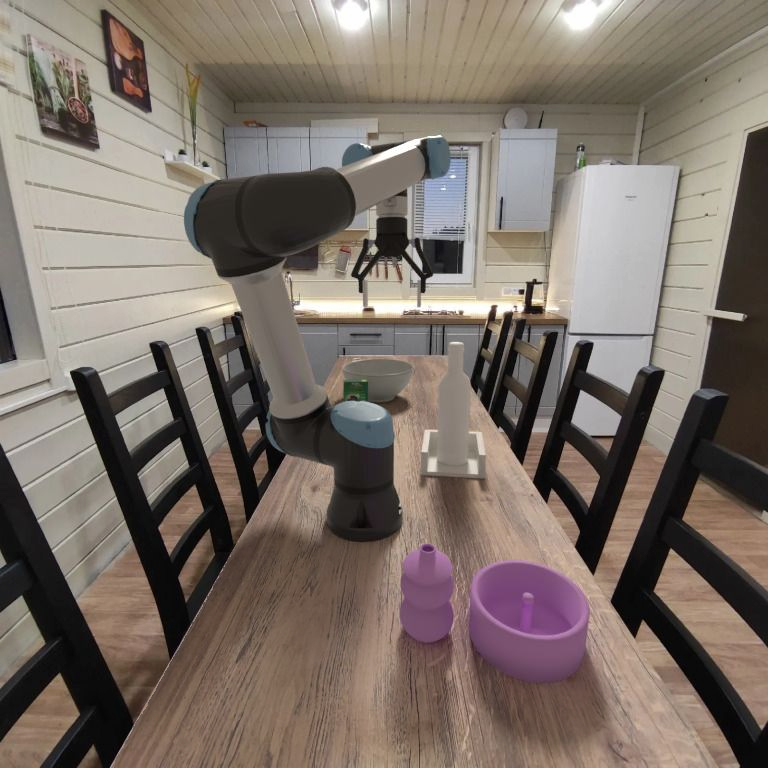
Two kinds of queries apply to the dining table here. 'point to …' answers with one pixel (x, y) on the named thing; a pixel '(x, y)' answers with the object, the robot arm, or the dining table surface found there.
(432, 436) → the bottle rest
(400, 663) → the dining table surface
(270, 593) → the dining table surface
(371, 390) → the decorative bowl
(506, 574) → the container set
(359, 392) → the coffee box
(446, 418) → the bottle
